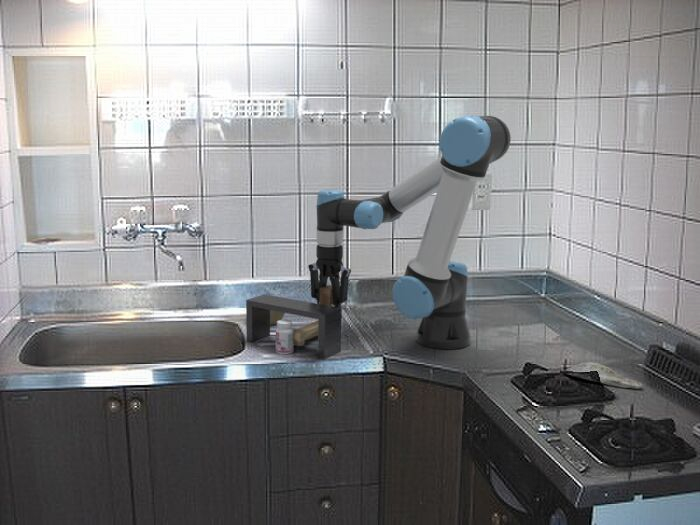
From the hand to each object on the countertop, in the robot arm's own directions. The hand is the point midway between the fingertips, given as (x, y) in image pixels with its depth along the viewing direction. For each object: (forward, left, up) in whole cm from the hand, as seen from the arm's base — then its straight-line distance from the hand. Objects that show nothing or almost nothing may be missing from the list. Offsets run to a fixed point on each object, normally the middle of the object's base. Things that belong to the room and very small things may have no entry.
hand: (328, 323), depth 220 cm
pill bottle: (0, +21, -3) cm, 21 cm away
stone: (-77, -6, -3) cm, 77 cm away
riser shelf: (+1, +16, -3) cm, 17 cm away
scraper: (0, +8, -1) cm, 8 cm away
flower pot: (+20, +1, -3) cm, 20 cm away
